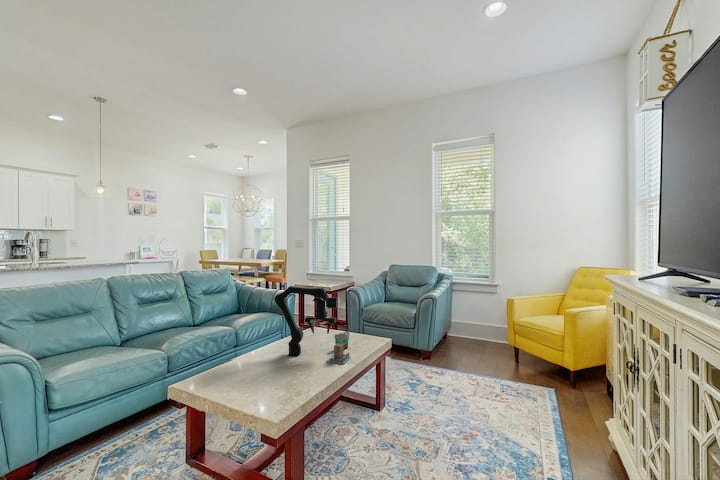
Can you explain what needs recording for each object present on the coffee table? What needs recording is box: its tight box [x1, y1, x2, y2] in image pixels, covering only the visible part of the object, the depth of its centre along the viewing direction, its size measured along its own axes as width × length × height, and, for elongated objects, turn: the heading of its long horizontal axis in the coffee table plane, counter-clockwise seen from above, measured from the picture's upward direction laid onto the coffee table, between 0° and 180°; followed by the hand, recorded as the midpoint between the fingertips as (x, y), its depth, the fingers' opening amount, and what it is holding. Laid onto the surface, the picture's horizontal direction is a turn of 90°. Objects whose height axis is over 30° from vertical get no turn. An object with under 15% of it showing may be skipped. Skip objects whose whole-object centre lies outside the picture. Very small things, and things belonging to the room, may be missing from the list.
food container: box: [333, 330, 351, 351], centre depth 215 cm, size 12×6×10 cm, turn 143°
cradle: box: [326, 352, 352, 365], centre depth 194 cm, size 11×11×3 cm
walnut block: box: [333, 343, 344, 359], centre depth 194 cm, size 4×5×8 cm
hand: (320, 333), depth 203 cm, fingers open, 9 cm apart
